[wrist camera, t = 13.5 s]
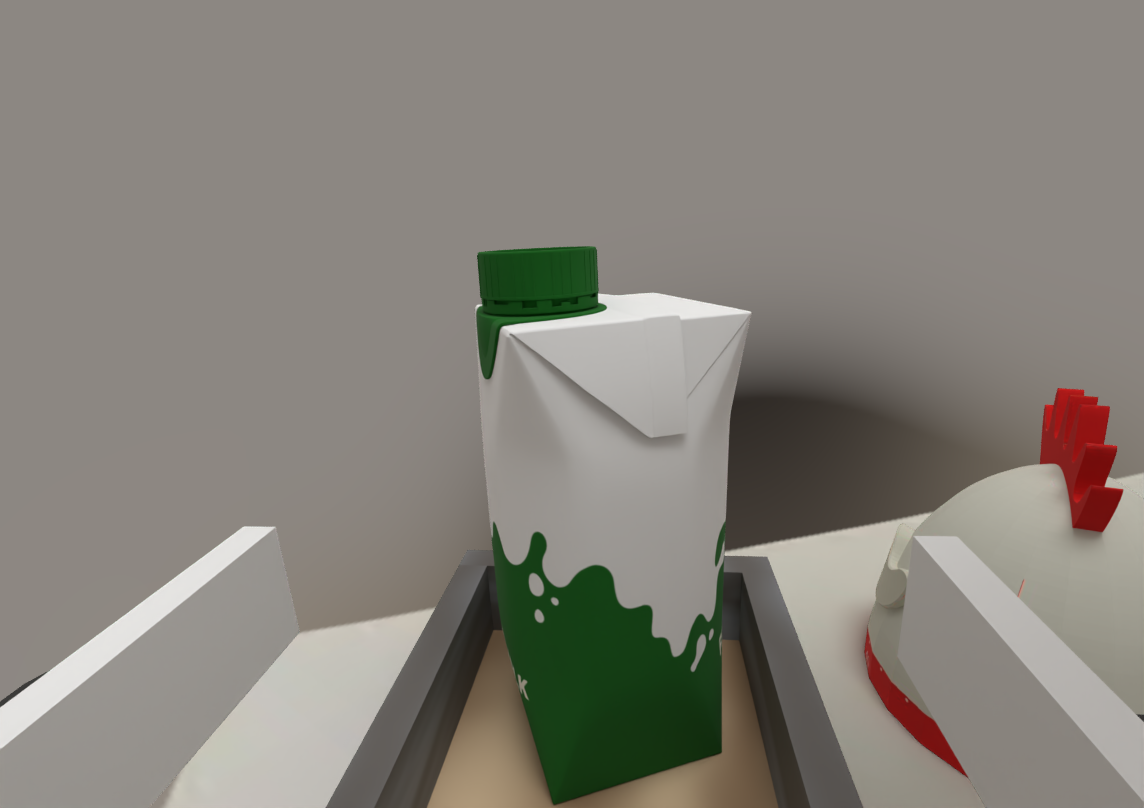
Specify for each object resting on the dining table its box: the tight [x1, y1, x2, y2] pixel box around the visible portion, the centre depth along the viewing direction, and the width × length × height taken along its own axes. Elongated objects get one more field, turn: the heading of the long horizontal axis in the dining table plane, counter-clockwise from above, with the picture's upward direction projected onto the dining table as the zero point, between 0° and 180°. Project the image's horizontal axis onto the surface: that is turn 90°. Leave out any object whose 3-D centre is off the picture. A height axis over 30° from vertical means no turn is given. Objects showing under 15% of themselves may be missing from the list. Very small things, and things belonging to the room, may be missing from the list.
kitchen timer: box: [865, 388, 1144, 777], centre depth 26 cm, size 14×14×15 cm
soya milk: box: [475, 246, 752, 804], centre depth 23 cm, size 9×9×20 cm
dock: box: [326, 550, 863, 808], centre depth 24 cm, size 16×15×6 cm
